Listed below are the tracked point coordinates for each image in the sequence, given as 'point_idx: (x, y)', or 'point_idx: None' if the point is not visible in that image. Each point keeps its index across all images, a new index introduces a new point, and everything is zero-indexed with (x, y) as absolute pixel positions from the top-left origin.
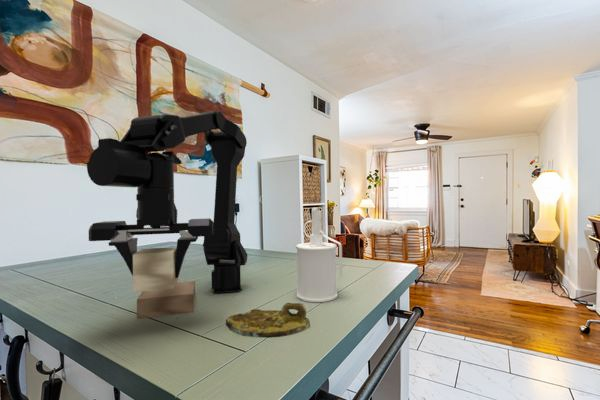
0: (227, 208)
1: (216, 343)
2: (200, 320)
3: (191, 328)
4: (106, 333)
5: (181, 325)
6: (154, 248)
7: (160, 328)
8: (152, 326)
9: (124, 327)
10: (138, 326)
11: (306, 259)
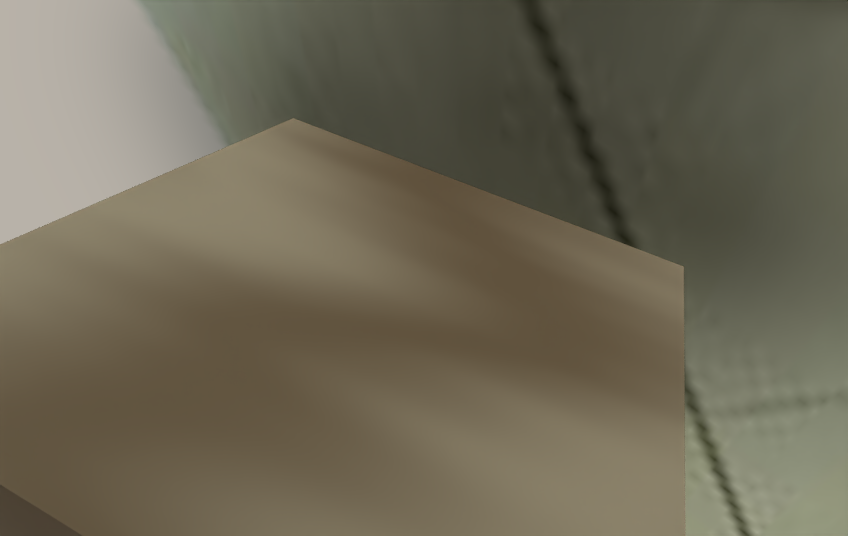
0: None
1: (722, 519)
2: (814, 234)
3: (696, 313)
4: (286, 87)
5: (661, 233)
6: (20, 516)
7: (538, 198)
8: (501, 136)
9: (357, 48)
10: (428, 82)
11: None
